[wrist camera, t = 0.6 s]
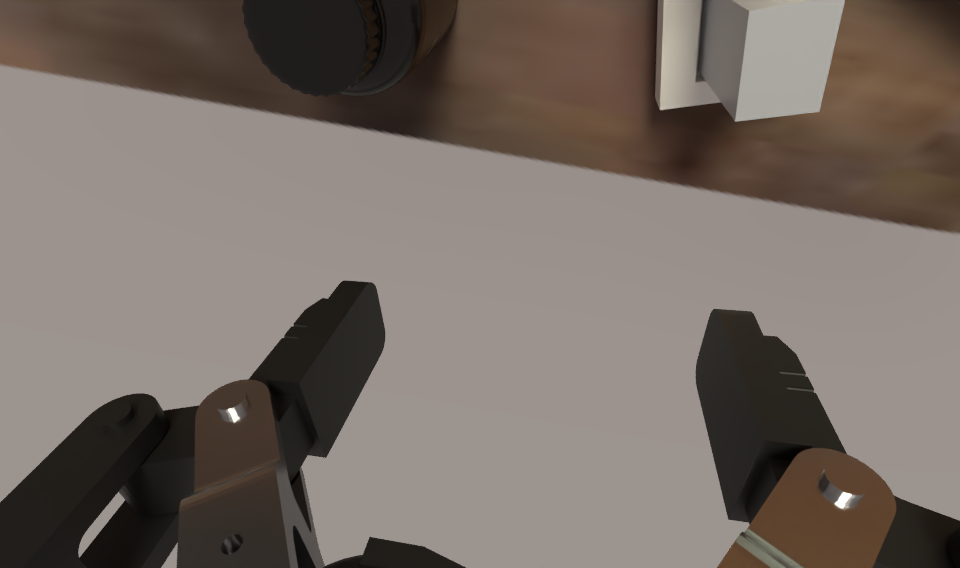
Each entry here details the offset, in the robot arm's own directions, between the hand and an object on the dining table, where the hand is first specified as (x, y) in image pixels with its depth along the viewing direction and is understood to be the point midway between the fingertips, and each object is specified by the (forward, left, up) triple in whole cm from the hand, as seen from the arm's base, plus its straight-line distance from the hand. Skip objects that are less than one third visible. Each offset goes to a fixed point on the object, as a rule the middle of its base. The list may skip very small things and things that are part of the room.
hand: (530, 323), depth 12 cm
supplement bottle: (+1, -10, -21) cm, 24 cm away
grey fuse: (-7, +6, -20) cm, 22 cm away
